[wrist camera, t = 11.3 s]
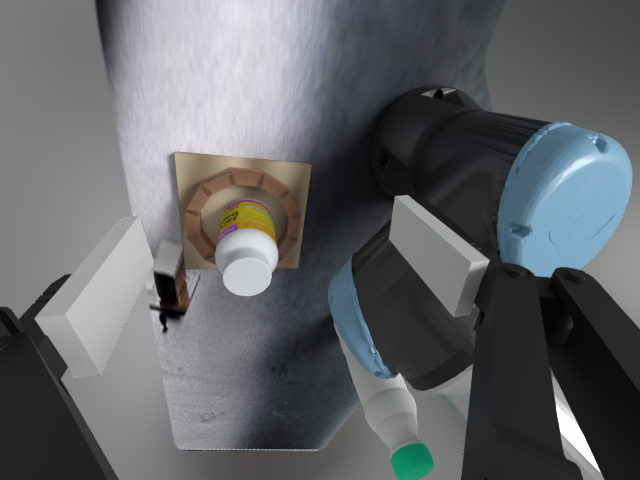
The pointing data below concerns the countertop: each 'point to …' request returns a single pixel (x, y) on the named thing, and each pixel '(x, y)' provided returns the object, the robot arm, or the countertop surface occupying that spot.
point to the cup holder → (235, 183)
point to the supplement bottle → (246, 247)
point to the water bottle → (391, 418)
